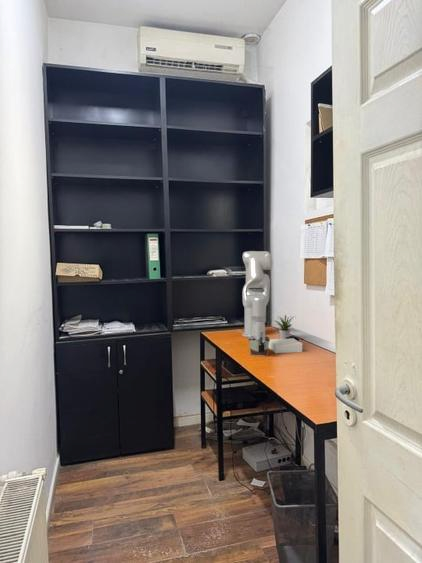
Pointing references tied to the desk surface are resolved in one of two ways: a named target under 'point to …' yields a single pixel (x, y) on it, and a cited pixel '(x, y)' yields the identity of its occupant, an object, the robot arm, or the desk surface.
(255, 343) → the food container
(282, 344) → the base block
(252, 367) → the desk surface
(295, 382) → the desk surface
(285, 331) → the house plant
